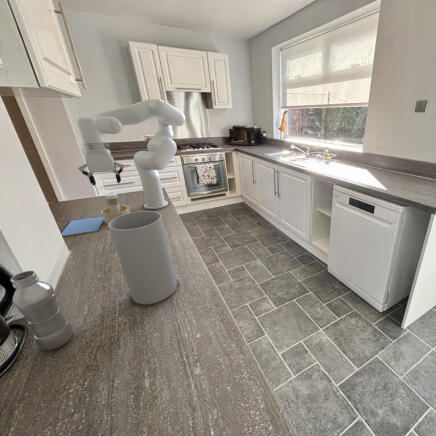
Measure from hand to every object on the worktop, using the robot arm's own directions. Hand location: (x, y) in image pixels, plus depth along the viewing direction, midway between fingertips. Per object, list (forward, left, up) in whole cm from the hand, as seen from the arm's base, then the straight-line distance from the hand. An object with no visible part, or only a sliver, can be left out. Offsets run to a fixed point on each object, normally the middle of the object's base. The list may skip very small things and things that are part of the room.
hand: (107, 183), depth 114 cm
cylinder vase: (+67, +18, -20) cm, 72 cm away
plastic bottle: (+77, -3, -20) cm, 79 cm away
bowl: (0, 0, -20) cm, 20 cm away
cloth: (+1, -14, -20) cm, 24 cm away
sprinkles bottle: (0, 0, -19) cm, 19 cm away
